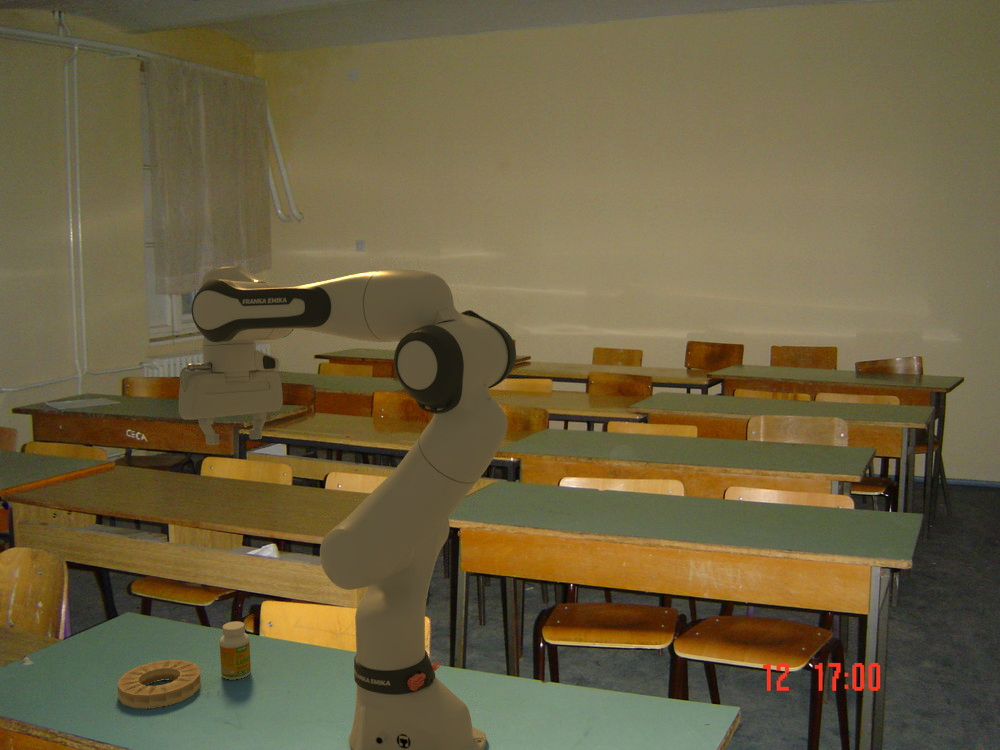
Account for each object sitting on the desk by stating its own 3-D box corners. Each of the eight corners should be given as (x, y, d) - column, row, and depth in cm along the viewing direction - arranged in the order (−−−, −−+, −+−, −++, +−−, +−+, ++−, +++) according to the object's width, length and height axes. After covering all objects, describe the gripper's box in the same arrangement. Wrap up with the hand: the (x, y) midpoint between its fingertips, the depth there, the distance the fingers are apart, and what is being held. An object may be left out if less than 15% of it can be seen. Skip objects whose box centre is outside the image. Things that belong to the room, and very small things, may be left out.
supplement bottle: (239, 682, 172) (236, 632, 171) (215, 678, 174) (212, 628, 173) (256, 670, 177) (254, 621, 176) (233, 666, 179) (231, 618, 178)
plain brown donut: (216, 681, 173) (216, 669, 172) (157, 715, 160) (156, 701, 160) (163, 666, 179) (162, 654, 179) (101, 697, 167) (100, 684, 166)
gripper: (192, 363, 150) (197, 448, 150) (286, 359, 167) (290, 436, 167) (167, 364, 153) (172, 448, 154) (262, 361, 170) (266, 436, 171)
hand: (234, 441), depth 161 cm, fingers open, 8 cm apart
